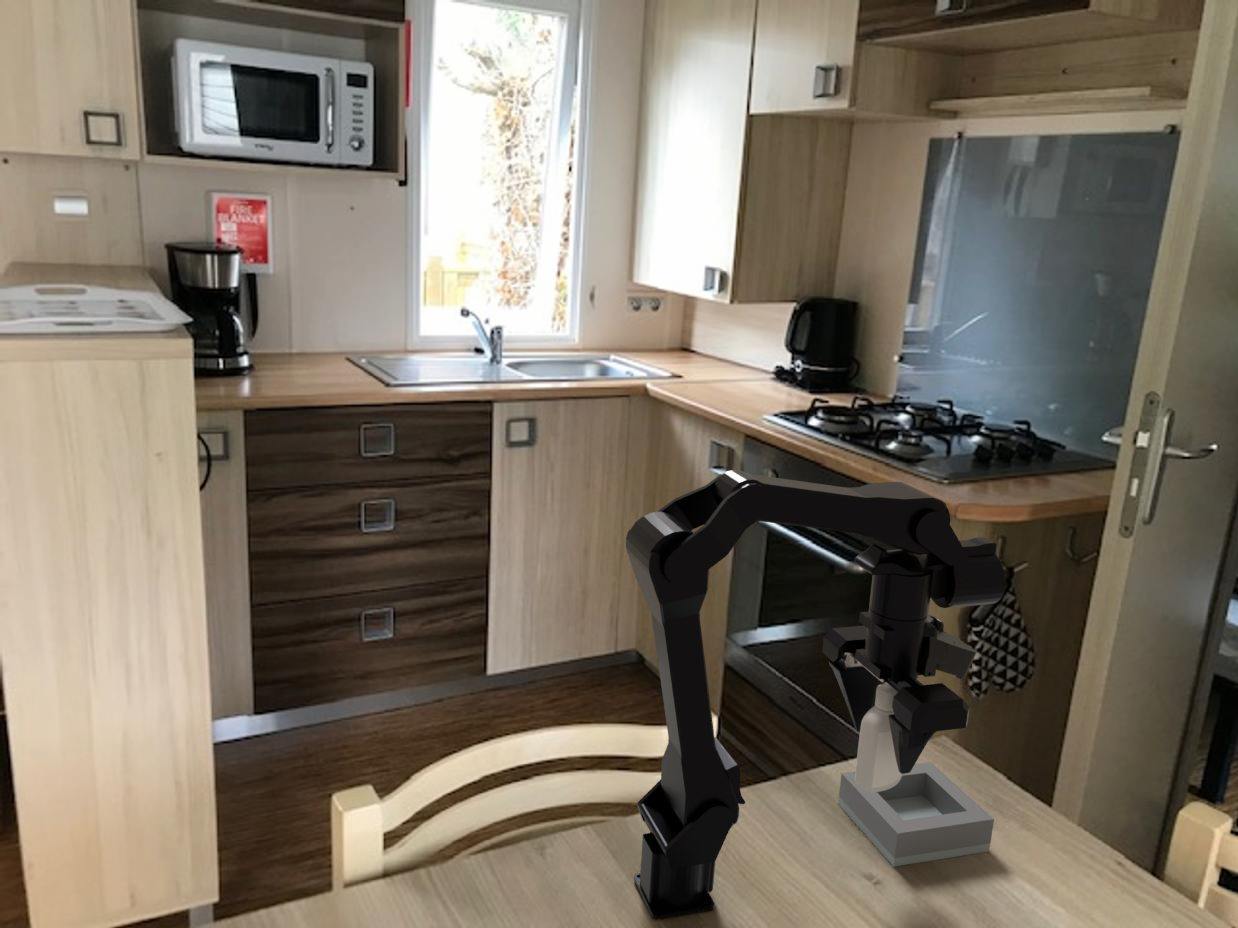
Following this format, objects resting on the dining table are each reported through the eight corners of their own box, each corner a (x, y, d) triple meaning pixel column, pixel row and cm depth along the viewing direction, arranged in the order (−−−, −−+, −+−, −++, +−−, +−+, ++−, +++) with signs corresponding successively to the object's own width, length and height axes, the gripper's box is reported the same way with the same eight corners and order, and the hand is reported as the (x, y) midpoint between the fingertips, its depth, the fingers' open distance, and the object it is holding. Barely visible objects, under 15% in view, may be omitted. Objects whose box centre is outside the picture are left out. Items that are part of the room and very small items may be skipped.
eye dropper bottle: (912, 791, 104) (925, 685, 101) (860, 794, 103) (872, 686, 100) (894, 769, 108) (907, 665, 105) (844, 771, 108) (856, 667, 105)
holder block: (893, 866, 108) (897, 833, 107) (838, 803, 119) (841, 773, 118) (989, 851, 111) (994, 818, 110) (926, 791, 122) (930, 761, 121)
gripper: (1027, 641, 95) (1005, 790, 99) (917, 572, 112) (901, 701, 116) (923, 651, 92) (904, 804, 95) (826, 579, 109) (813, 710, 113)
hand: (881, 750), depth 105 cm, fingers closed on eye dropper bottle, 8 cm apart
